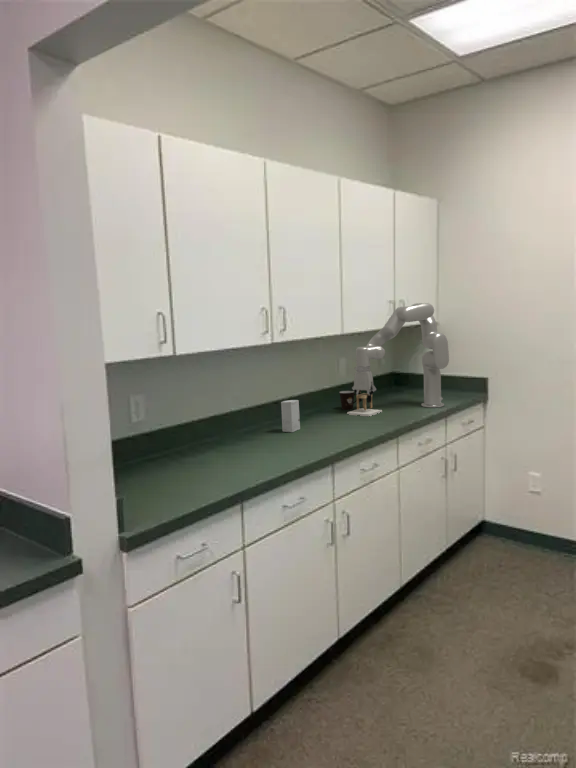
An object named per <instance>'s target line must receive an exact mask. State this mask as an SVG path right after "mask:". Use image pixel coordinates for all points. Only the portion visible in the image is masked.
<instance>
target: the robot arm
mask: <svg viewBox="0 0 576 768" xmlns="http://www.w3.org/2000/svg"><path fill="white" fill-rule="evenodd" d="M434 313H435V309H434V306H433V305H432V304H431V303H429V302H424V303H422V302H418V303H417V302H416V303H414V304H411V305H410V306H399V307H397V308H396V309H395V310H394V311H393V312H392V314H391V315H390V317H389V318H388V319H387V321H386V322H385V324H384V326H383V327H382V328H380V330H378V332H376V333H375V334H374V335H373V336H372V337H371V338H370V340H369V341H368V343H367V344H366V346H358V347H356V349H355V358H356V359H355V360H356V362H355V363H356V366H355V367H354V370H356V371H355V372H354V380H353V386H352V387H351V389H352V391H354V394H355V393H356V394H355V395H359V394H362V391H366V393H368V395H367V398H366V403H368V404H370V402H371V395H372V396H373V394H374V393H375V392H376V391H377V388H376V386H375V384H374V378H373V372H372V371H371V360H381V359H384V357H385V354H386V349H384V347H382V345H384V344H385V343H386V342H388V341H390V340H392V339H393V338H395V337H396V336H398V334H399V333H400V330H401V329H402V328H403V326H404V325H405V323H414V322H417V321H418V322H419V324H420V329H421V330H420V331H421V339H422V340H421V342H422V345H423V347H424V348H425V349H428V351H426V352H424V354H423V355H422V357H421V365H422V370H423V371H422V372H423V402H422V403H421V407H423V408H441V407H444V406H445V403H443V402H442V401H443V396H442V377H441V375H442V374H441V370H442V369H443V370H444V369H445V368H447V366H448V365H449V363H450V362H449V361H450V354H449V344H448V343H449V342H448V338H447V336H446V335H445V334H444V333H443V332H438V327H437V322H436V318H435V316H434ZM360 402H363V398H359V403H360Z"/></svg>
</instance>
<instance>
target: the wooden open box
mask: <svg viewBox="0 0 576 768" xmlns="http://www.w3.org/2000/svg"><path fill="white" fill-rule="evenodd" d="M355 395H356V397H355V398H356V400H357V401H356V410H359V409H360V402H359V398H362V409H364V410H366V409H367V395H368V393H367V392H366V393H365V392H363V393H362V392H361V394H359V395H357V394H355ZM369 409H373V394H372V395H371V402H369Z"/></svg>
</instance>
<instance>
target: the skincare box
mask: <svg viewBox="0 0 576 768" xmlns="http://www.w3.org/2000/svg"><path fill="white" fill-rule="evenodd" d="M299 401H300V400H298V399H290V400H283V401H281V402H280V406H281V407H280V408H281V427H282V428H281V430H282V432H283V433H285V432H286V433H294V432H297V431H299V430H301V422H300V421H301V420H300V405H299V404H300V403H299Z"/></svg>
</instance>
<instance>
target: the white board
mask: <svg viewBox="0 0 576 768" xmlns="http://www.w3.org/2000/svg"><path fill="white" fill-rule="evenodd" d="M380 412H381V413H383V410H382V409H374V408H366V410H364V408H363V407H362V408H360V407H359V410H357V409H354V410H353V409H352V410H349V411H347V413H346V415H347V414H349V415H348V416H357V415H360V416H361V417H369V416H370V417H372V415H373V416H376V415H378V414H380ZM377 413H378V414H377Z"/></svg>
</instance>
